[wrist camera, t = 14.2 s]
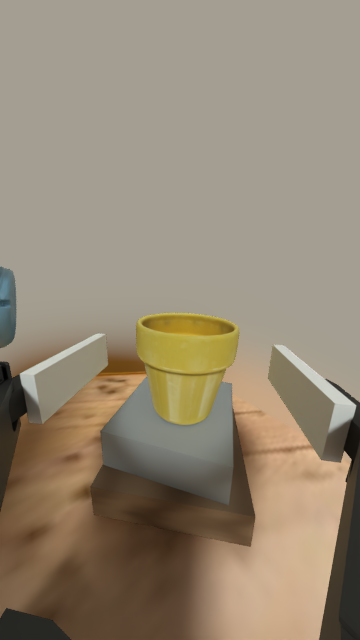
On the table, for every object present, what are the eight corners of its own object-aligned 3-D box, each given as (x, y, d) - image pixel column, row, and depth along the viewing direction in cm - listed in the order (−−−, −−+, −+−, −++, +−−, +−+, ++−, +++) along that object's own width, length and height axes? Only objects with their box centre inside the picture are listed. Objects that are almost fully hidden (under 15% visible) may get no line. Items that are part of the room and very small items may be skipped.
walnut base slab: (94, 519, 17) (90, 486, 16) (143, 412, 31) (143, 391, 30) (249, 551, 15) (255, 516, 14) (229, 423, 29) (231, 401, 28)
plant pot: (192, 372, 28) (196, 309, 26) (249, 415, 20) (262, 328, 18) (124, 391, 23) (123, 314, 20) (163, 463, 14) (167, 345, 12)
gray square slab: (103, 464, 18) (100, 431, 17) (152, 392, 29) (152, 370, 28) (228, 505, 15) (233, 467, 14) (229, 408, 26) (231, 383, 26)
